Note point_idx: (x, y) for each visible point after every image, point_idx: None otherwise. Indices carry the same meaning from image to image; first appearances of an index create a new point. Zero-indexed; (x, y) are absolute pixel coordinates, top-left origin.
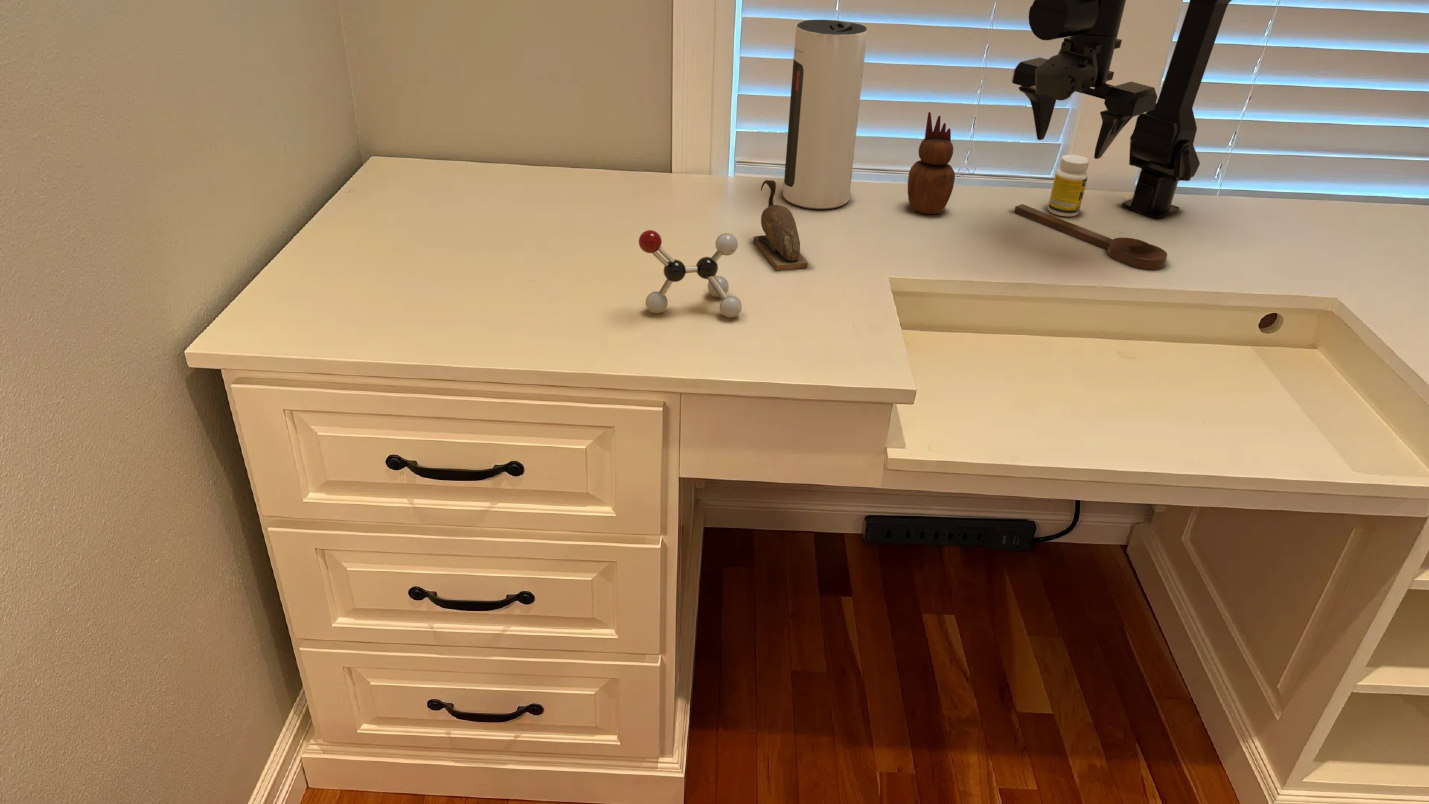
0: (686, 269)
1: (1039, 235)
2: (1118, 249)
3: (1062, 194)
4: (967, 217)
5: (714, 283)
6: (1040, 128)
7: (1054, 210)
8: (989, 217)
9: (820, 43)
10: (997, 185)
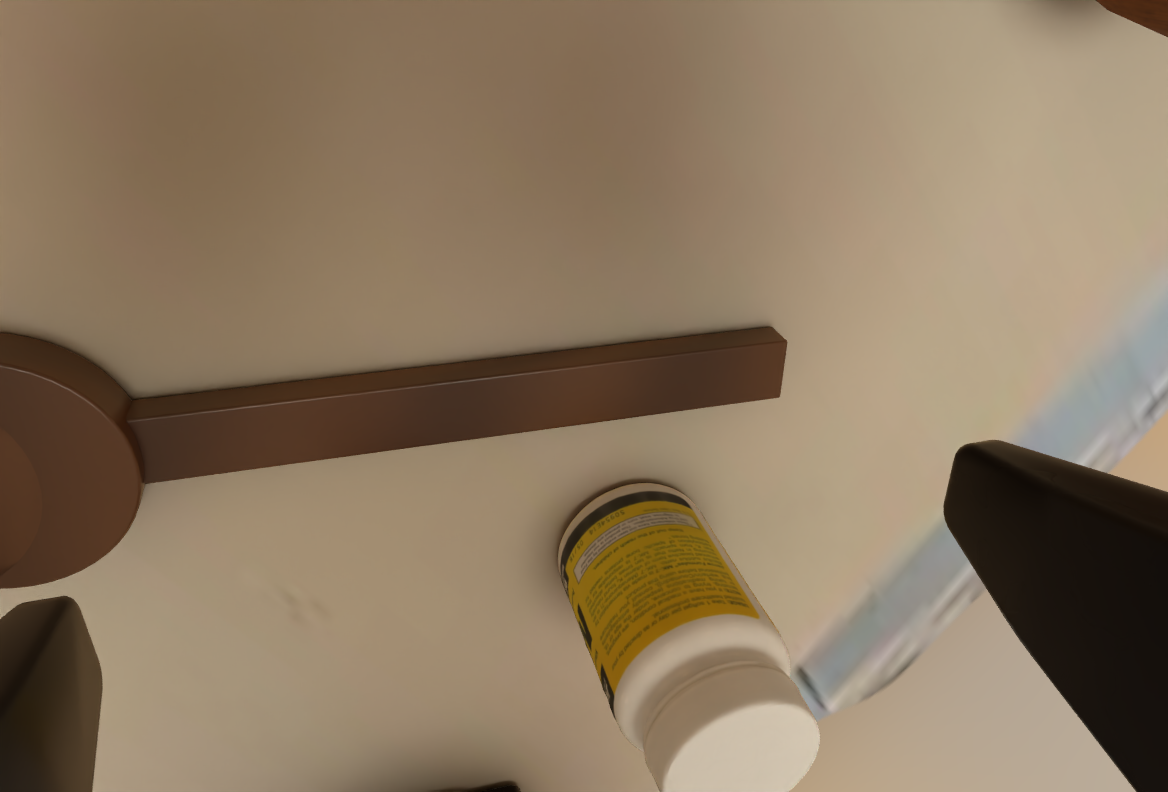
0: None
1: (493, 205)
2: None
3: (649, 558)
4: (904, 26)
5: None
6: (1086, 508)
7: (638, 492)
8: (820, 150)
9: None
10: None
